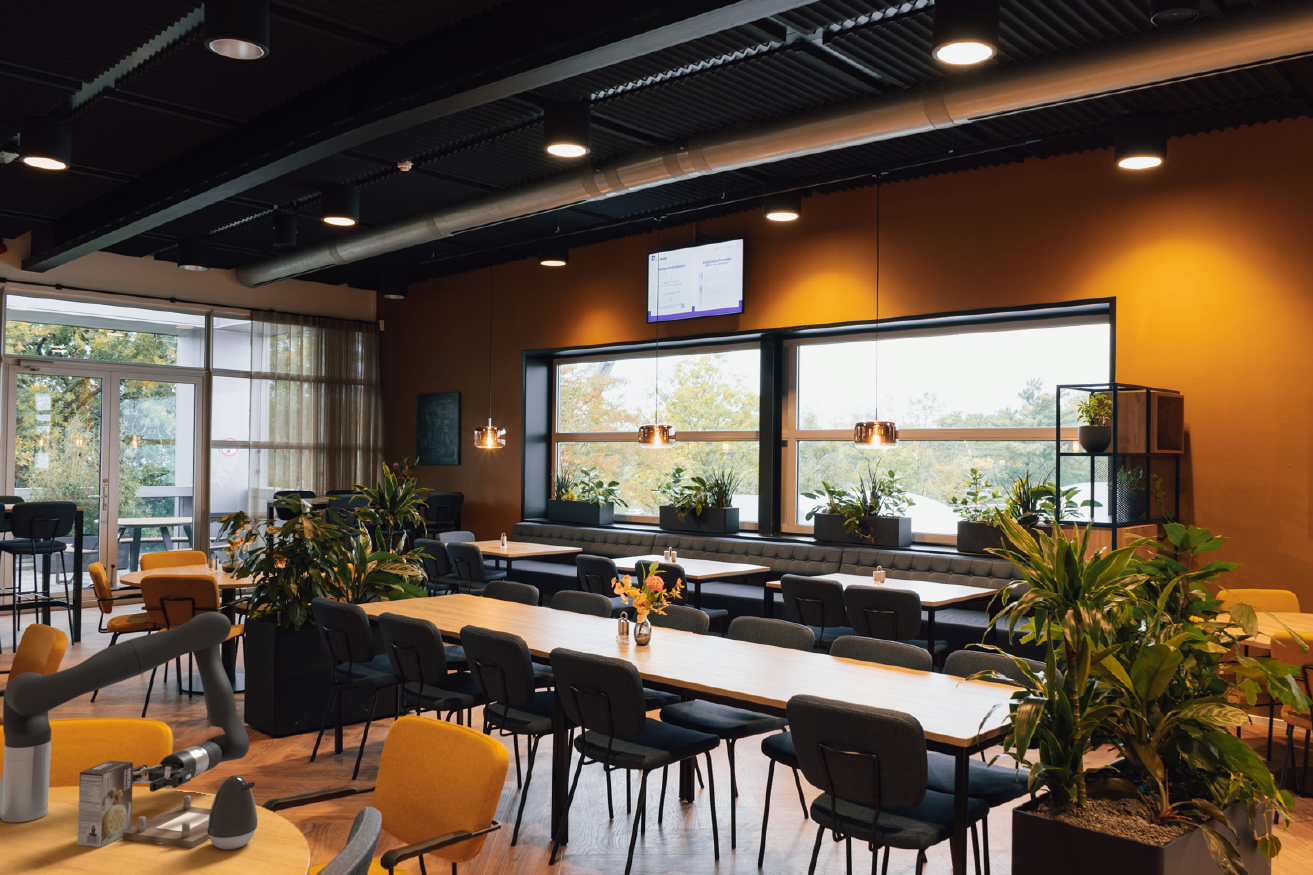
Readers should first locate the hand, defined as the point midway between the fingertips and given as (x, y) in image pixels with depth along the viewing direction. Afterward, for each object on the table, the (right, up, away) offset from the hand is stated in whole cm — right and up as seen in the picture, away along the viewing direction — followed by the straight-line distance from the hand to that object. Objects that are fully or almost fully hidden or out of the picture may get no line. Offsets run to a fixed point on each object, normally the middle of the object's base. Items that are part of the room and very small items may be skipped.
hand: (135, 785), depth 224 cm
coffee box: (-2, -9, -9) cm, 13 cm away
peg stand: (+13, -9, -2) cm, 16 cm away
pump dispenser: (+27, -10, -11) cm, 31 cm away
